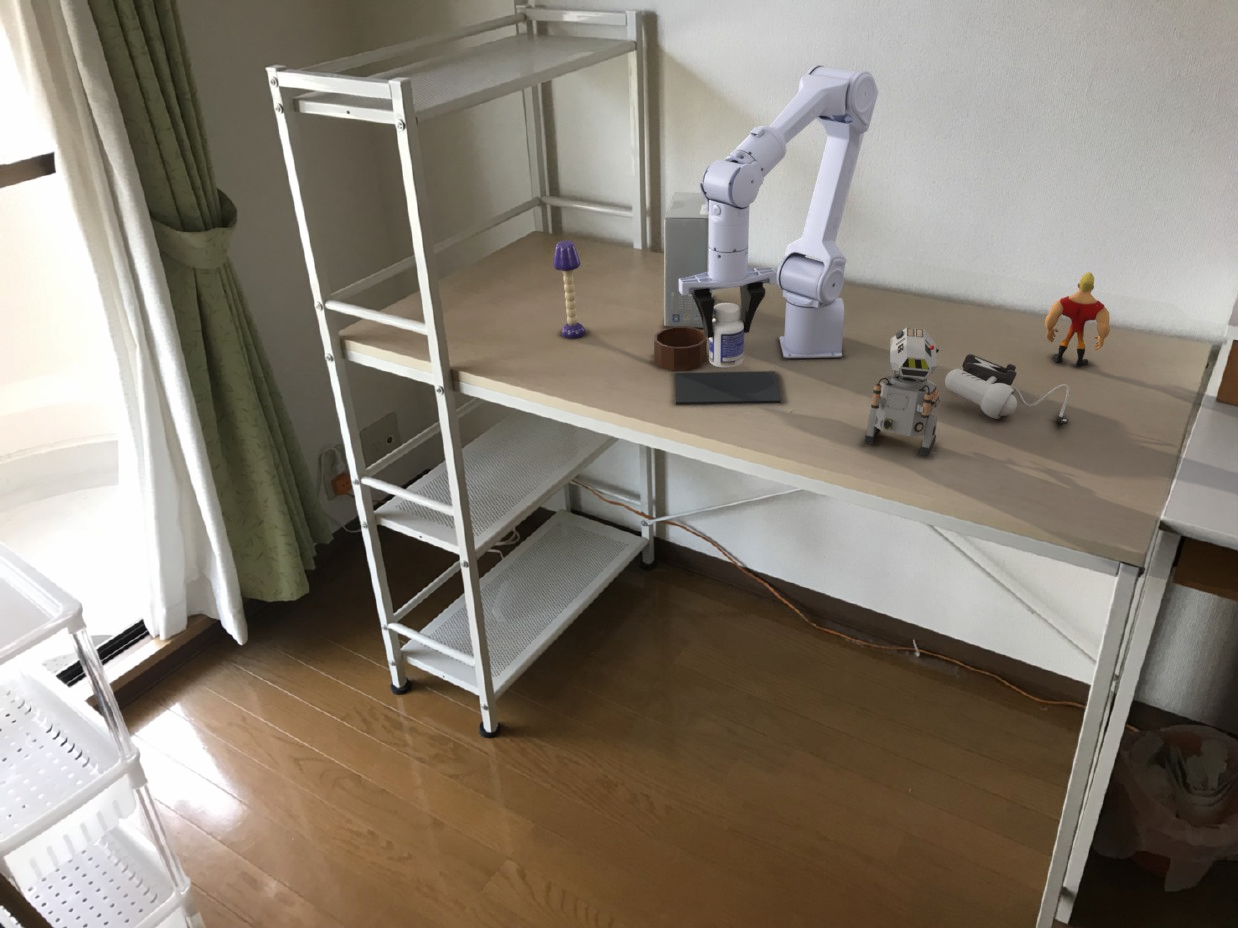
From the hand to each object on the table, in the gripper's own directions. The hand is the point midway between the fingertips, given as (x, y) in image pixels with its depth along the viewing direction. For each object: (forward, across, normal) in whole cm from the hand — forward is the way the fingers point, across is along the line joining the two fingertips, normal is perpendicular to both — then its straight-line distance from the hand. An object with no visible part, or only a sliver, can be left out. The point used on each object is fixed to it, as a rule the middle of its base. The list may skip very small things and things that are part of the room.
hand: (726, 332), depth 151 cm
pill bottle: (+5, 0, 0) cm, 5 cm away
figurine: (+10, -19, +22) cm, 31 cm away
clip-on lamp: (+10, -38, +18) cm, 43 cm away
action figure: (+10, -55, +8) cm, 56 cm away
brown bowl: (+10, +4, -12) cm, 16 cm away
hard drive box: (+10, -3, -31) cm, 33 cm away
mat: (+10, 0, 0) cm, 10 cm away
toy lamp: (+10, +19, -28) cm, 35 cm away
